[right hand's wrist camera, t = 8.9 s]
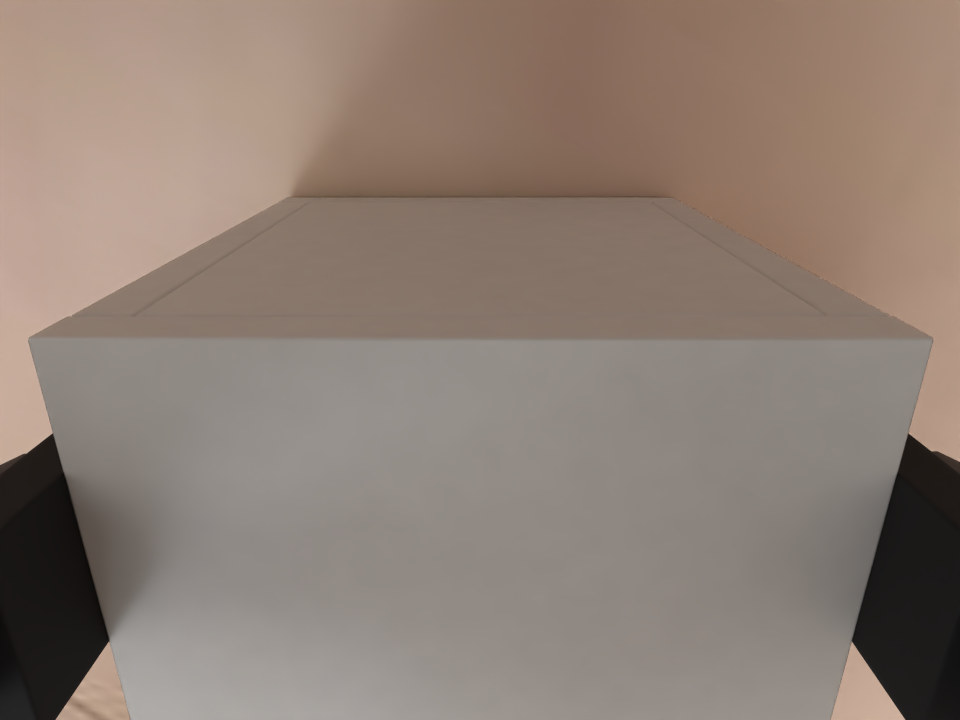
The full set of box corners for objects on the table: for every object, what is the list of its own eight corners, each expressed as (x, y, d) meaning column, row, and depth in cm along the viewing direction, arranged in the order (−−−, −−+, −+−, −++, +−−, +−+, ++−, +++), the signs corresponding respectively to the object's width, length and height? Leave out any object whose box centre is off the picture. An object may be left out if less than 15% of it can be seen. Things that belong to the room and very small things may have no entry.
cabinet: (614, 758, 26) (702, 1196, 15) (346, 758, 26) (258, 1196, 15) (674, 196, 18) (936, 337, 8) (286, 196, 18) (25, 337, 8)
